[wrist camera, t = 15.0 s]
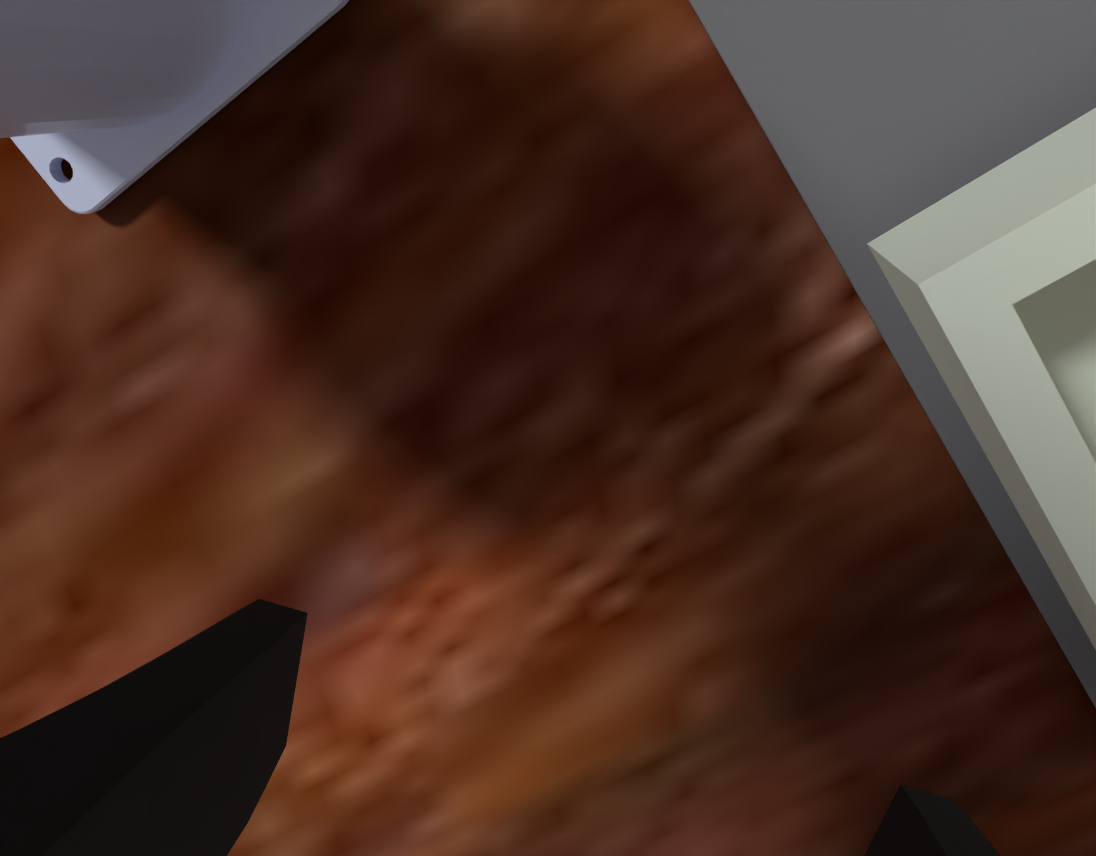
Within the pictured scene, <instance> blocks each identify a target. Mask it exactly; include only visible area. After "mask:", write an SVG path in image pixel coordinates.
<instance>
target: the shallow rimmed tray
mask: <svg viewBox="0 0 1096 856" xmlns="http://www.w3.org/2000/svg"><path fill="white" fill-rule="evenodd" d="M867 245H868V246H869V248H870V250H871V252H872V254H873V255H874V257H875V259H876V261H877V262H878V264H879V266H880V268H881V270H882V271H883V273H884V275H885V277H886V278H887V280H888V282H889V284H890V286H891V287H892V289H893V291H894V293H895V294H896V296H897V298H898V300H899V302H900V303H901V305H902V307H903V309H904V310H905V312H906V314H907V316H908V318H909V319H910V321H911V323H912V325H913V326H914V328H915V330H916V332H917V334H918V335H919V337H920V339H921V341H922V342H923V344H924V346H925V348H926V350H927V351H928V353H929V355H930V357H931V358H932V360H933V362H934V364H935V366H936V367H937V369H938V371H939V373H940V374H941V376H942V378H943V380H944V382H945V383H946V385H947V387H948V389H949V390H950V392H951V394H952V396H953V397H954V399H955V401H956V403H957V405H958V406H959V408H960V410H961V412H962V413H963V415H964V417H965V419H966V421H967V422H968V424H969V426H970V428H971V429H972V431H973V433H974V435H975V437H976V438H977V440H978V442H979V444H980V445H981V447H982V449H983V451H984V453H985V454H986V456H987V458H988V460H989V461H990V463H991V465H992V467H993V469H994V470H995V472H996V474H997V476H998V477H999V479H1000V481H1001V483H1002V485H1003V486H1004V488H1005V490H1006V492H1007V493H1008V495H1009V497H1010V499H1011V501H1012V502H1013V504H1014V506H1015V508H1016V509H1017V511H1018V513H1019V515H1020V517H1021V518H1022V520H1023V522H1024V524H1025V525H1026V527H1027V529H1028V531H1029V533H1030V534H1031V536H1032V538H1033V540H1034V541H1035V543H1036V545H1037V547H1038V549H1039V550H1040V552H1041V554H1042V556H1043V557H1044V559H1045V561H1046V563H1047V564H1048V566H1049V568H1050V570H1051V572H1052V573H1053V575H1054V577H1055V579H1056V580H1057V582H1058V584H1059V586H1060V588H1061V589H1062V591H1063V593H1064V595H1065V596H1066V598H1067V600H1068V602H1069V604H1070V605H1071V607H1072V609H1073V611H1074V612H1075V614H1076V616H1077V618H1078V620H1079V621H1080V623H1081V625H1082V627H1083V628H1084V630H1085V632H1086V634H1087V636H1088V637H1089V639H1090V641H1091V643H1092V644H1093V646H1094V648H1095V650H1096V108H1094V109H1093V110H1091V111H1089V112H1088V113H1086V114H1084V115H1083V116H1081V117H1079V118H1078V119H1076V120H1074V121H1072V122H1071V123H1069V124H1067V125H1066V126H1064V127H1062V128H1061V129H1059V130H1057V131H1056V132H1054V133H1052V134H1051V135H1049V136H1047V137H1046V138H1044V139H1042V140H1041V141H1039V142H1037V143H1035V144H1034V145H1032V146H1030V147H1029V148H1027V149H1025V150H1024V151H1022V152H1020V153H1019V154H1017V155H1015V156H1014V157H1012V158H1010V159H1009V160H1007V161H1005V162H1004V163H1002V164H1000V165H998V166H997V167H995V168H993V169H992V170H990V171H988V172H987V173H985V174H983V175H982V176H980V177H978V178H977V179H975V180H973V181H972V182H970V183H968V184H967V185H965V186H963V187H961V188H960V189H958V190H956V191H955V192H953V193H951V194H950V195H948V196H946V197H945V198H943V199H941V200H940V201H938V202H936V203H935V204H933V205H931V206H930V207H928V208H926V209H924V210H923V211H921V212H919V213H918V214H916V215H914V216H913V217H911V218H909V219H908V220H906V221H904V222H903V223H901V224H899V225H898V226H896V227H894V228H893V229H891V230H889V231H887V232H886V233H884V234H882V235H881V236H879V237H877V238H876V239H874V240H872V241H871V242H869V243H867Z"/></svg>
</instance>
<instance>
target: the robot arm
mask: <svg viewBox="0 0 1096 856" xmlns="http://www.w3.org/2000/svg"><path fill="white" fill-rule="evenodd" d="M348 1H349V0H0V138H6V137H10V138H11V139H12V141H13V142H14V143H15V144H16V146H17V147H18V148H19V149H20V151H21V152H22V153H23V154H24V155H25V157H26V158H27V159H28V160H29V162H30V163H31V164H32V165H33V167H34V168H35V169H36V170H37V172H38V173H39V174H40V175H41V177H42V178H43V179H44V180H45V181H46V183H47V184H48V185H49V186H50V188H51V189H52V190H53V191H54V193H55V194H56V195H57V196H58V198H59V199H60V200H61V201H62V203H63V204H64V205H65V206H67V207H68V208H69V209H70V210H71V211H74V212H76V213H79V214H89V213H93V212H97V211H99V210H101V209H103V208H104V207H105V206H106V205H108V204H109V203H110V202H111V201H112V200H114V199H115V198H116V197H117V196H118V195H120V194H121V193H122V192H123V191H124V190H126V189H127V188H128V187H129V186H130V185H132V184H133V183H134V182H135V181H136V180H137V179H139V178H140V177H141V176H142V175H143V174H145V173H146V172H147V171H148V170H149V169H151V168H152V167H153V166H154V165H155V164H157V163H158V162H159V161H160V160H161V159H163V158H164V157H165V156H166V155H167V154H169V153H170V152H171V151H172V150H173V149H174V148H176V147H177V146H178V145H179V144H180V143H182V142H183V141H184V140H185V139H186V138H188V137H189V136H190V135H191V134H192V133H194V132H195V131H196V130H197V129H198V128H200V127H201V126H202V125H203V124H204V123H206V122H207V121H208V120H209V119H210V118H211V117H213V116H214V115H215V114H216V113H217V112H219V111H220V110H221V109H222V108H223V107H225V106H226V105H227V104H228V103H229V102H231V101H232V100H233V99H234V98H235V97H237V96H238V95H239V94H240V93H241V92H243V91H244V90H245V89H246V88H247V87H248V86H250V85H251V84H252V83H253V82H254V81H256V80H257V79H258V78H259V77H260V76H262V75H263V74H264V73H265V72H266V71H268V70H269V69H270V68H271V67H272V66H274V65H275V64H276V63H277V62H278V61H280V60H281V59H282V58H283V57H284V56H285V55H287V54H288V53H289V52H290V51H291V50H293V49H294V48H295V47H296V46H297V45H299V44H300V43H301V42H302V41H303V40H305V39H306V38H307V37H308V36H309V35H311V34H312V33H313V32H314V31H315V30H317V29H318V28H319V27H320V26H321V25H322V24H324V23H325V22H326V21H327V20H328V19H330V18H331V17H332V16H333V15H334V14H336V13H337V12H338V11H339V10H340V9H342V8H343V7H344V6H345V5H346V4H347V2H348ZM63 159H65V160H67V161H68V162H69V163H70V165H71V167H72V169H73V177H72V179H71V180H69V179H68V178H67V177H65V176H64V174H63V172H62V170H61V162H62V161H63ZM306 619H307V613H306V612H302V611H299V610H295V609H292V608H288V607H285V606H281V605H278V604H275V603H271V602H268V601H264V600H261V599H258V600H256V601H254V602H253V603H251V604H249V605H247V606H245V607H243V608H242V609H240V610H238V611H236V612H235V613H233V614H231V615H229V616H228V617H226V618H224V619H223V620H221V621H219V622H217V623H216V624H214V625H212V626H211V627H209V628H207V629H206V630H204V631H202V632H201V633H199V634H197V635H195V636H194V637H192V638H190V639H189V640H187V641H185V642H183V643H182V644H180V645H178V646H177V647H175V648H173V649H171V650H170V651H168V652H166V653H164V654H163V655H161V656H159V657H157V658H156V659H154V660H152V661H150V662H148V663H147V664H145V665H143V666H141V667H139V668H137V669H136V670H134V671H132V672H130V673H128V674H127V675H125V676H123V677H121V678H119V679H118V680H116V681H114V682H112V683H110V684H109V685H107V686H105V687H103V688H101V689H99V690H97V691H95V692H93V693H92V694H90V695H88V696H86V697H84V698H82V699H80V700H78V701H76V702H74V703H72V704H70V705H68V706H66V707H64V708H61V709H59V710H57V711H55V712H53V713H51V714H49V715H47V716H45V717H43V718H41V719H39V720H37V721H35V722H33V723H31V724H29V725H27V726H25V727H23V728H21V729H19V730H17V731H15V732H13V733H11V734H8V735H6V736H4V737H2V738H0V856H227V854H228V853H229V851H230V850H231V848H232V847H233V845H234V844H235V842H236V840H237V839H238V837H239V836H240V834H241V832H242V831H243V829H244V828H245V826H246V825H247V823H248V821H249V819H250V817H251V815H252V813H253V811H254V809H255V807H256V805H257V803H258V801H259V799H260V797H261V795H262V793H263V791H264V789H265V788H266V785H267V783H268V781H269V779H270V777H271V775H272V773H273V771H274V769H275V767H276V765H277V763H278V761H279V759H280V757H281V755H282V753H283V751H284V749H285V746H286V742H287V736H288V729H289V723H290V717H291V711H292V705H293V699H294V693H295V687H296V680H297V674H298V668H299V662H300V656H301V650H302V644H303V638H304V632H305V625H306ZM865 856H1000V855H999V854H998V852H997V851H996V850H995V849H994V847H993V846H992V845H991V844H990V842H989V841H988V840H987V839H986V838H985V836H984V835H983V834H982V833H981V832H980V830H979V829H978V828H977V827H976V825H975V824H974V823H973V822H972V821H971V820H970V818H969V817H968V816H967V815H966V814H965V813H964V812H963V810H962V809H961V808H960V807H959V806H958V805H957V804H956V803H955V802H954V800H953V799H950V798H946V797H943V796H939V795H936V794H932V793H929V792H925V791H922V790H918V789H915V788H911V787H908V786H905V785H900V787H899V789H898V791H897V793H896V795H895V797H894V798H893V800H892V802H891V804H890V806H889V808H888V810H887V812H886V814H885V816H884V818H883V820H882V822H881V824H880V826H879V828H878V830H877V832H876V834H875V836H874V838H873V840H872V842H871V844H870V846H869V848H868V850H867V852H866V854H865Z"/></svg>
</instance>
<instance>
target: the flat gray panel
mask: <svg viewBox="0 0 1096 856" xmlns="http://www.w3.org/2000/svg"><path fill="white" fill-rule="evenodd" d="M689 2H690V4H691V6H692V7H693V9H694V11H695V12H696V14H697V16H698V18H699V19H700V21H701V23H702V25H703V26H704V28H705V30H706V32H707V33H708V35H709V37H710V39H711V40H712V42H713V44H714V46H715V47H716V49H717V51H718V52H719V54H720V56H721V58H722V59H723V61H724V63H725V65H726V66H727V68H728V70H729V72H730V73H731V75H732V77H733V79H734V80H735V82H736V84H737V86H738V87H739V89H740V91H741V92H742V94H743V96H744V98H745V99H746V101H747V103H748V105H749V106H750V108H751V110H752V112H753V113H754V115H755V117H756V119H757V120H758V122H759V124H760V126H761V127H762V129H763V131H764V132H765V134H766V136H767V138H768V139H769V141H770V143H771V145H772V146H773V148H774V150H775V152H776V153H777V155H778V157H779V159H780V160H781V162H782V164H783V165H784V167H785V169H786V171H787V172H788V174H789V176H790V178H791V179H792V181H793V183H794V185H795V186H796V188H797V190H798V192H799V193H800V195H801V197H802V199H803V200H804V202H805V204H806V205H807V207H808V209H809V211H810V212H811V214H812V216H813V218H814V219H815V221H816V223H817V225H818V226H819V228H820V230H821V232H822V233H823V235H824V237H825V239H826V240H827V242H828V244H829V245H830V247H831V249H832V251H833V252H834V254H835V256H836V258H837V259H838V261H839V263H840V265H841V266H842V268H843V270H844V272H845V273H846V275H847V277H848V279H849V280H850V282H851V284H852V285H853V287H854V289H855V291H856V292H857V294H858V296H859V298H860V299H861V301H862V303H863V305H864V306H865V308H866V310H867V312H868V313H869V315H870V317H871V319H872V320H873V322H874V324H875V325H876V327H877V329H878V331H879V332H880V334H881V336H882V338H883V339H884V341H885V343H886V345H887V346H888V348H889V350H890V352H891V353H892V355H893V357H894V359H895V360H896V362H897V364H898V365H899V367H900V369H901V371H902V372H903V374H904V376H905V378H906V379H907V381H908V383H909V385H910V386H911V388H912V390H913V392H914V393H915V395H916V397H917V398H918V400H919V402H920V404H921V405H922V407H923V409H924V411H925V412H926V414H927V416H928V418H929V419H930V421H931V423H932V425H933V426H934V428H935V430H936V432H937V433H938V435H939V437H940V438H941V440H942V442H943V444H944V445H945V447H946V449H947V451H948V452H949V454H950V456H951V458H952V459H953V461H954V463H955V465H956V466H957V468H958V470H959V472H960V473H961V475H962V477H963V478H964V480H965V482H966V484H967V485H968V487H969V489H970V491H971V492H972V494H973V496H974V498H975V499H976V501H977V503H978V505H979V506H980V508H981V510H982V512H983V513H984V515H985V517H986V518H987V520H988V522H989V524H990V525H991V527H992V529H993V531H994V532H995V534H996V536H997V538H998V539H999V541H1000V543H1001V545H1002V546H1003V548H1004V550H1005V552H1006V553H1007V555H1008V557H1009V558H1010V560H1011V562H1012V564H1013V565H1014V567H1015V569H1016V571H1017V572H1018V574H1019V576H1020V578H1021V579H1022V581H1023V583H1024V585H1025V586H1026V588H1027V590H1028V592H1029V593H1030V595H1031V597H1032V598H1033V600H1034V602H1035V604H1036V605H1037V607H1038V609H1039V611H1040V612H1041V614H1042V616H1043V618H1044V619H1045V621H1046V623H1047V625H1048V626H1049V628H1050V630H1051V631H1052V633H1053V635H1054V637H1055V638H1056V640H1057V642H1058V644H1059V645H1060V647H1061V649H1062V651H1063V652H1064V654H1065V656H1066V658H1067V659H1068V661H1069V663H1070V665H1071V666H1072V668H1073V670H1074V671H1075V673H1076V675H1077V677H1078V678H1079V680H1080V682H1081V684H1082V685H1083V687H1084V689H1085V691H1086V692H1087V694H1088V696H1089V698H1090V699H1091V701H1092V703H1093V705H1094V706H1095V708H1096V650H1095V648H1094V646H1093V644H1092V643H1091V641H1090V639H1089V637H1088V636H1087V634H1086V632H1085V630H1084V628H1083V627H1082V625H1081V623H1080V621H1079V620H1078V618H1077V616H1076V614H1075V612H1074V611H1073V609H1072V607H1071V605H1070V604H1069V602H1068V600H1067V598H1066V596H1065V595H1064V593H1063V591H1062V589H1061V588H1060V586H1059V584H1058V582H1057V580H1056V579H1055V577H1054V575H1053V573H1052V572H1051V570H1050V568H1049V566H1048V564H1047V563H1046V561H1045V559H1044V557H1043V556H1042V554H1041V552H1040V550H1039V549H1038V547H1037V545H1036V543H1035V541H1034V540H1033V538H1032V536H1031V534H1030V533H1029V531H1028V529H1027V527H1026V525H1025V524H1024V522H1023V520H1022V518H1021V517H1020V515H1019V513H1018V511H1017V509H1016V508H1015V506H1014V504H1013V502H1012V501H1011V499H1010V497H1009V495H1008V493H1007V492H1006V490H1005V488H1004V486H1003V485H1002V483H1001V481H1000V479H999V477H998V476H997V474H996V472H995V470H994V469H993V467H992V465H991V463H990V461H989V460H988V458H987V456H986V454H985V453H984V451H983V449H982V447H981V445H980V444H979V442H978V440H977V438H976V437H975V435H974V433H973V431H972V429H971V428H970V426H969V424H968V422H967V421H966V419H965V417H964V415H963V413H962V412H961V410H960V408H959V406H958V405H957V403H956V401H955V399H954V397H953V396H952V394H951V392H950V390H949V389H948V387H947V385H946V383H945V382H944V380H943V378H942V376H941V374H940V373H939V371H938V369H937V367H936V366H935V364H934V362H933V360H932V358H931V357H930V355H929V353H928V351H927V350H926V348H925V346H924V344H923V342H922V341H921V339H920V337H919V335H918V334H917V332H916V330H915V328H914V326H913V325H912V323H911V321H910V319H909V318H908V316H907V314H906V312H905V310H904V309H903V307H902V305H901V303H900V302H899V300H898V298H897V296H896V294H895V293H894V291H893V289H892V287H891V286H890V284H889V282H888V280H887V278H886V277H885V275H884V273H883V271H882V270H881V268H880V266H879V264H878V262H877V261H876V259H875V257H874V255H873V254H872V252H871V250H870V248H869V246H868V245H867V243H869V242H871V241H872V240H874V239H876V238H877V237H879V236H881V235H882V234H884V233H886V232H887V231H889V230H891V229H893V228H894V227H896V226H898V225H899V224H901V223H903V222H904V221H906V220H908V219H909V218H911V217H913V216H914V215H916V214H918V213H919V212H921V211H923V210H924V209H926V208H928V207H930V206H931V205H933V204H935V203H936V202H938V201H940V200H941V199H943V198H945V197H946V196H948V195H950V194H951V193H953V192H955V191H956V190H958V189H960V188H961V187H963V186H965V185H967V184H968V183H970V182H972V181H973V180H975V179H977V178H978V177H980V176H982V175H983V174H985V173H987V172H988V171H990V170H992V169H993V168H995V167H997V166H998V165H1000V164H1002V163H1004V162H1005V161H1007V160H1009V159H1010V158H1012V157H1014V156H1015V155H1017V154H1019V153H1020V152H1022V151H1024V150H1025V149H1027V148H1029V147H1030V146H1032V145H1034V144H1035V143H1037V142H1039V141H1041V140H1042V139H1044V138H1046V137H1047V136H1049V135H1051V134H1052V133H1054V132H1056V131H1057V130H1059V129H1061V128H1062V127H1064V126H1066V125H1067V124H1069V123H1071V122H1072V121H1074V120H1076V119H1078V118H1079V117H1081V116H1083V115H1084V114H1086V113H1088V112H1089V111H1091V110H1093V109H1094V108H1096V0H689Z"/></svg>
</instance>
